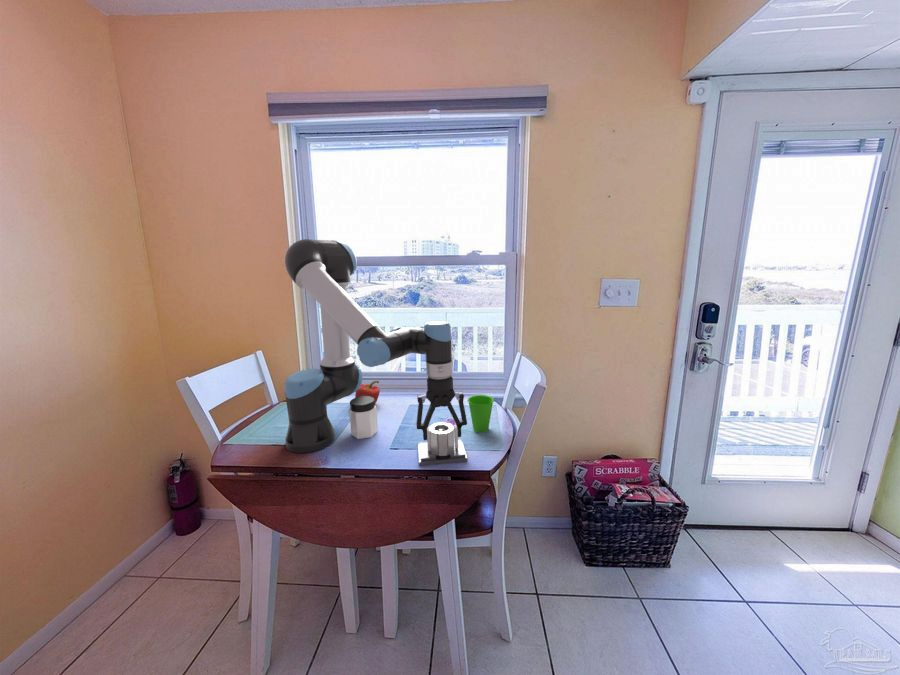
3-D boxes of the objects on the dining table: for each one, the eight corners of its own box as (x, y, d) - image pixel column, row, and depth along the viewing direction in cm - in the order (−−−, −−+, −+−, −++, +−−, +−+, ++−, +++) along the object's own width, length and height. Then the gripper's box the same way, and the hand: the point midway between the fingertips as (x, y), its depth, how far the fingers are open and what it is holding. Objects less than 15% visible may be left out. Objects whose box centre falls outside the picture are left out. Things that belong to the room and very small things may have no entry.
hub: (431, 456, 100) (430, 434, 99) (429, 444, 107) (429, 423, 106) (455, 454, 101) (454, 432, 100) (452, 442, 108) (451, 421, 106)
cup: (496, 434, 116) (496, 404, 114) (469, 436, 116) (468, 405, 113) (491, 422, 125) (491, 394, 123) (466, 424, 125) (466, 395, 122)
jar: (382, 433, 119) (379, 400, 117) (360, 441, 114) (357, 407, 111) (368, 424, 126) (366, 393, 123) (347, 432, 120) (344, 400, 118)
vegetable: (375, 398, 150) (373, 376, 148) (386, 405, 142) (385, 382, 140) (351, 405, 144) (349, 382, 141) (362, 413, 136) (360, 389, 134)
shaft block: (419, 465, 99) (418, 439, 98) (418, 447, 109) (417, 423, 107) (467, 461, 101) (467, 435, 99) (462, 444, 111) (461, 420, 109)
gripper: (403, 382, 95) (408, 457, 100) (477, 376, 97) (478, 450, 102) (404, 373, 102) (408, 444, 107) (472, 369, 105) (473, 438, 109)
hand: (442, 447), depth 105 cm, fingers open, 8 cm apart
